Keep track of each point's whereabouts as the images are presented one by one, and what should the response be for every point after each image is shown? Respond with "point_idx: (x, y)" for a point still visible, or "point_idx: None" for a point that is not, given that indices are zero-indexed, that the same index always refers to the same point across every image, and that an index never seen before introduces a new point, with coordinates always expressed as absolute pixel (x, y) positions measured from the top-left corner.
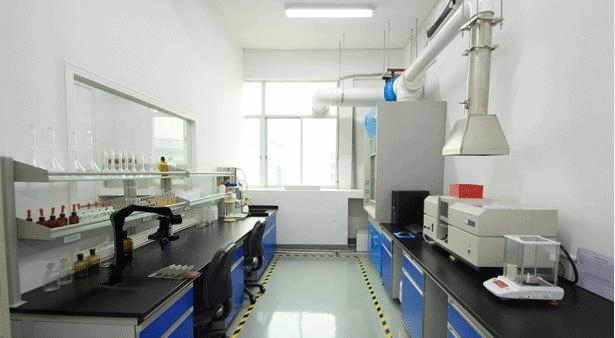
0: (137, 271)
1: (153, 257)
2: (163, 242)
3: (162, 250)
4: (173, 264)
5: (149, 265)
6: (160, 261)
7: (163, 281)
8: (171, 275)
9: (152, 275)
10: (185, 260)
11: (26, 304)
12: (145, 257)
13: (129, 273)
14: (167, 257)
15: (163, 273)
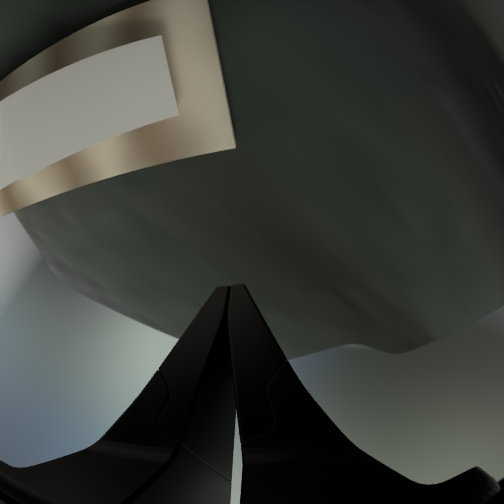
0: (428, 97)
1: (467, 318)
2: (94, 467)
3: (232, 288)
4: (25, 169)
5: (431, 224)
6: (406, 299)
7: (42, 35)
8: None
9: (174, 18)
10: None
11: None
12: (497, 302)
13: (445, 51)
14: (402, 347)
15: None
